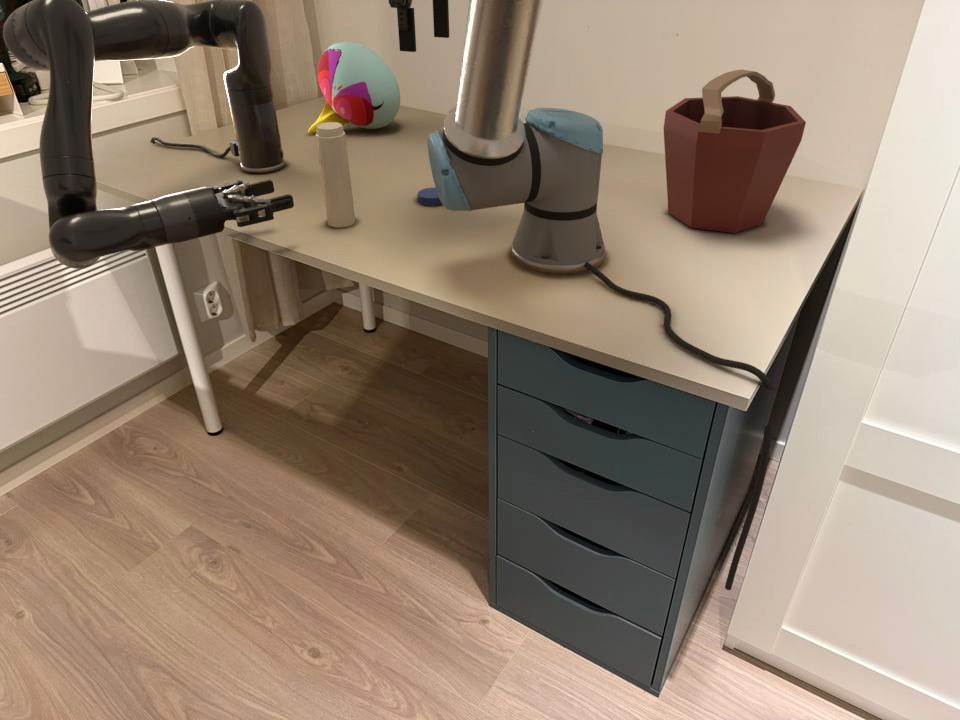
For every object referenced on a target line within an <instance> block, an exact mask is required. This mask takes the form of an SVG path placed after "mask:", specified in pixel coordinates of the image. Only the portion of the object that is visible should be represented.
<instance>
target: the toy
mask: <svg viewBox="0 0 960 720" xmlns="http://www.w3.org/2000/svg"><path fill="white" fill-rule="evenodd" d="M317 81H318V85H319V88H320V91H321V93H322V95H323V97H324V99H325V102H324V108H323V109H322V111H321V113H320V114H319V116H318V118H317V119H316V120H315V121H314V123H312V124H311V126H310V127H309V128H308V129H307V132H308V134H316V133H317V125H319V124H322V123H327V122H336V123H340V124H342V126H345V125H347V124H351V125H353V126H356V127H358V128H361V129H366V130H378V129H382V128H384V127H386V126H388V125H390V124H391V123H392V122H393V121H394V120H395V118H396V117H397V115H398V113H399V111H400V107H401V91H400V86H399V84H398V80H397V78H396V76H395V74H394V72H393V71H392V69H391V67H390V66H389V65H388V64H387V62H386V61H385V60H384V59H383V58H382V57H381V56H380V55H379V54H378V53H376V52H375V51H374V50H372V49H370V48H369V47H367V46H365V45H362V44H360V43H357V42H353V41H352V42H351V41H341V42H337V43H336V42H335V43H334V44H332V45H330V46H329V47H327V48H326V49H325V50H324V51H323V52H322V54H321V56H320V58H319V61H318V64H317Z"/></svg>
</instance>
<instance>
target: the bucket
mask: <svg viewBox="0 0 960 720" xmlns="http://www.w3.org/2000/svg"><path fill="white" fill-rule="evenodd" d="M746 77H747V78H748V79H749V80H750V81H751V82H752V83H754V84H755V85H756V88H757V91H758V98H757V99H754V98H750V97H744V96H739V95H736V96H733V95H732V96H731V95H730V96H722V92H724V91H725V90H726V89H727V88H728V87H729V86H730V85H732V84H734V83H735V82H737V81H738V80H740V79H743V78H746ZM701 96H702V97H685V98H683V99H682V100H680V101H679V102H677V103H676V104H674V105H672V106H670V107H669V108H668V109H667V110H665V115H664V122H663V143H664V156H665V157H664V159H665V161H664V162H665V177H666V179H665V180H666V192H667V193H666V194H667V196H666V197H667V212H668V214H670V215H671V216H672V217H674V218H676V219H677V220H679V221H680V222H681V223H683V224H684V225H686V226H687V227H689V228H691V229H698V230H707V231H715V232H721V233H732V234H735V233H739V232H742V231H745V230H749V229H751V228H754V227H757V226H760V225H762V224H764V222H765V219H766V218H767V215H768V213H769V211H770V209H771V207H772V205H773V202H774V201H775V198H776V196H777V195H778V192H779V189H780V187H781V185H782V183H783V181H784V179H785V177H786V175H787V173H788V170H789V168H790V167H791V164H792V162H793V159H794V158H795V155H796V153H797V151H798V150H799V149H798V148H799V147H800V145H801V142H802V139H803V135H804V132H805V128H806V125H807V124H806V120H805V119H804V118H803V117H802V116H801V115H800V114H799V113H798V112H797V111H796V110H795V109H794V108H793V107H792V106H791V105H787V104H781V103H776V102H774V101H775V98H776V92H775V88H774V83H773V82H772V81H771V80H769V79H768V78H767V77H766V76H765V75H763V74H761V73H760V72H758V71H755V70H748V69H735V70H732V71H727V72H724V73H722V74H720V75H717V76H716V77H714V78H713V79H711V80H709V81H708V82H707V83H706V84H705V85H704V86H703V87H702V88H701Z"/></svg>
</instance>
